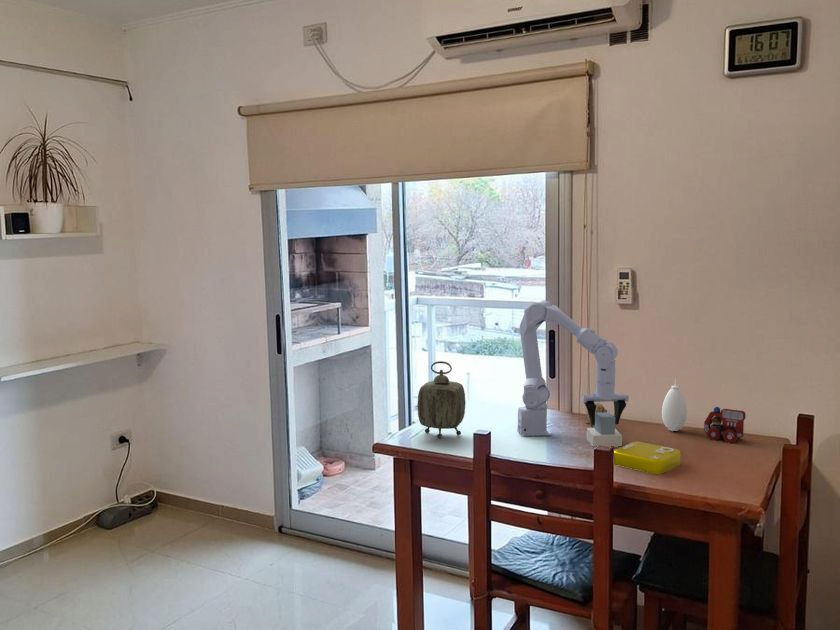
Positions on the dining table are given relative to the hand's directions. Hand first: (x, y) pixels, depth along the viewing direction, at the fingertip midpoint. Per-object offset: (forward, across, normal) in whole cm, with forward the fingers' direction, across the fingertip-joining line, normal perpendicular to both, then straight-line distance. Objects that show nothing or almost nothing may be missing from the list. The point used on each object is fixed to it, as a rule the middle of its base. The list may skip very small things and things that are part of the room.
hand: (604, 423), depth 231 cm
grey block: (+2, 0, 0) cm, 3 cm away
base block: (+7, 0, 0) cm, 7 cm away
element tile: (+7, +5, -22) cm, 24 cm away
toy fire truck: (+6, +40, +1) cm, 41 cm away
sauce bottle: (+6, +28, +12) cm, 31 cm away
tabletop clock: (+6, -51, +11) cm, 53 cm away
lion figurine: (+6, +4, +21) cm, 22 cm away
